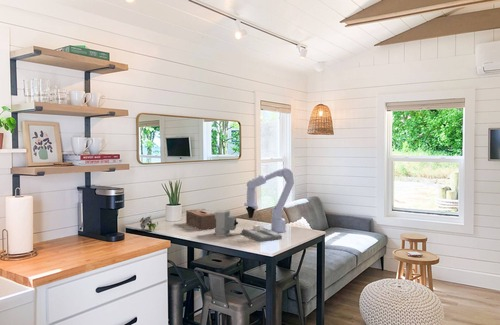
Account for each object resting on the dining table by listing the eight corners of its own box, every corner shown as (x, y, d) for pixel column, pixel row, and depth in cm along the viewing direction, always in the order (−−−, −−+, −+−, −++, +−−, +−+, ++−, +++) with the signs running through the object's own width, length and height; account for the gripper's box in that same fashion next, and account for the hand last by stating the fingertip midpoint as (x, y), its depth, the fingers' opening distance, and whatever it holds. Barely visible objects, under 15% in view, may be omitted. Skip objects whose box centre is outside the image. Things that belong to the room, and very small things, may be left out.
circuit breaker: (235, 236, 250) (236, 213, 249) (214, 234, 253) (215, 212, 252) (238, 233, 257) (238, 211, 256) (218, 232, 260) (218, 210, 259)
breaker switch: (257, 229, 259) (257, 224, 259) (259, 231, 256) (259, 225, 256) (253, 230, 258) (253, 225, 258) (255, 231, 255) (255, 226, 254)
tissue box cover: (220, 228, 273) (220, 214, 272) (201, 230, 265) (201, 216, 265) (203, 221, 295) (203, 208, 294) (186, 223, 287) (186, 210, 286)
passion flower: (142, 238, 263) (136, 222, 266) (157, 233, 269) (150, 218, 273) (146, 232, 254) (139, 216, 258) (161, 226, 261) (154, 211, 264)
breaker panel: (261, 230, 266) (262, 226, 266) (281, 238, 245) (281, 233, 245) (241, 233, 258) (241, 228, 258) (260, 241, 237) (260, 236, 237)
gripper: (240, 196, 267) (240, 216, 268) (251, 199, 254) (250, 220, 255) (249, 196, 271) (249, 215, 271) (260, 199, 258) (260, 219, 259)
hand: (250, 217), depth 263 cm, fingers closed
